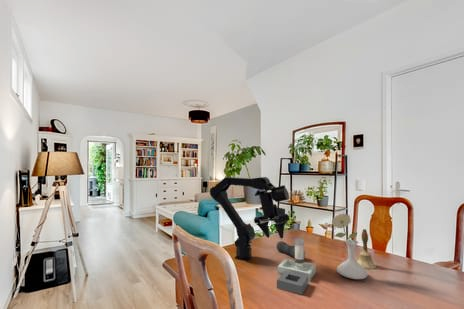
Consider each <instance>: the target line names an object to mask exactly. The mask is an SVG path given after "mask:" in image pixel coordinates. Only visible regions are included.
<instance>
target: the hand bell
mask: <svg viewBox="0 0 464 309" xmlns="http://www.w3.org/2000/svg"><path fill="white" fill-rule="evenodd" d="M368 240H369V234H368V232H367V229H364V228H363V229H362V232H361V242H362V247H363V248H362V249H363V250H362V251H360V252H359V257H358V260H356V261H357V263H359V264H360V265H361V266H362V267H363V268H364V269H365V270H375V269H377V265H376V264H375V263H374V261H373V258H372V254H371V253H370V252H369V251H368Z"/></svg>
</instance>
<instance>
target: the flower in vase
mask: <svg viewBox="0 0 464 309" xmlns="http://www.w3.org/2000/svg"><path fill="white" fill-rule="evenodd" d="M351 220H352V219H351V215H347V213H344V212H343V213H338V214H336V215H335V216H334V217H333V219H332V220H331V224H332V226H333V227H334V228H338V229H342V228H343V232H344V233H343V232H338V233H336V234H335V235H334V237H336V238H340V239H341V238H343V237H344V236H346V238H347V239H345V240H344V242H345V243H346V246H347V249H348V256H347V257H348V258H347V259H346V260H345V261H343V262H341V263H340V264H339V265H338V266H337V268H336V271H337V273H338V274H339V275H341V276H342V277H345V278H348V279H352V280H363V279H364V280H365V279H366V278H367V277H368V276H369V274H368V271H367V269H364V268H363V267H362V266H361V265H360V264H359V263H357V261H358V260H356V257H355V255H356V247H357V245H358V244H359V241H357V240H354V238H356V237H357V236H358V232H357V231H356V232H354V233H351V234H349V236H348V235H347V233H346V228H345V227H348V226H349V225H350V223H351V222H352V221H351Z"/></svg>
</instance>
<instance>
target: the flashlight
mask: <svg viewBox="0 0 464 309" xmlns="http://www.w3.org/2000/svg"><path fill="white" fill-rule="evenodd" d="M276 249H277V251H278V252H280V253H284V254H287V255H289V257H290V256H291V257H292V258H294V259H295V245H291V244H288V243H287V242H285V241H282V240H281V241H278V242H277V244H276ZM305 257H306V250H305V249H304V259H305Z"/></svg>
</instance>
